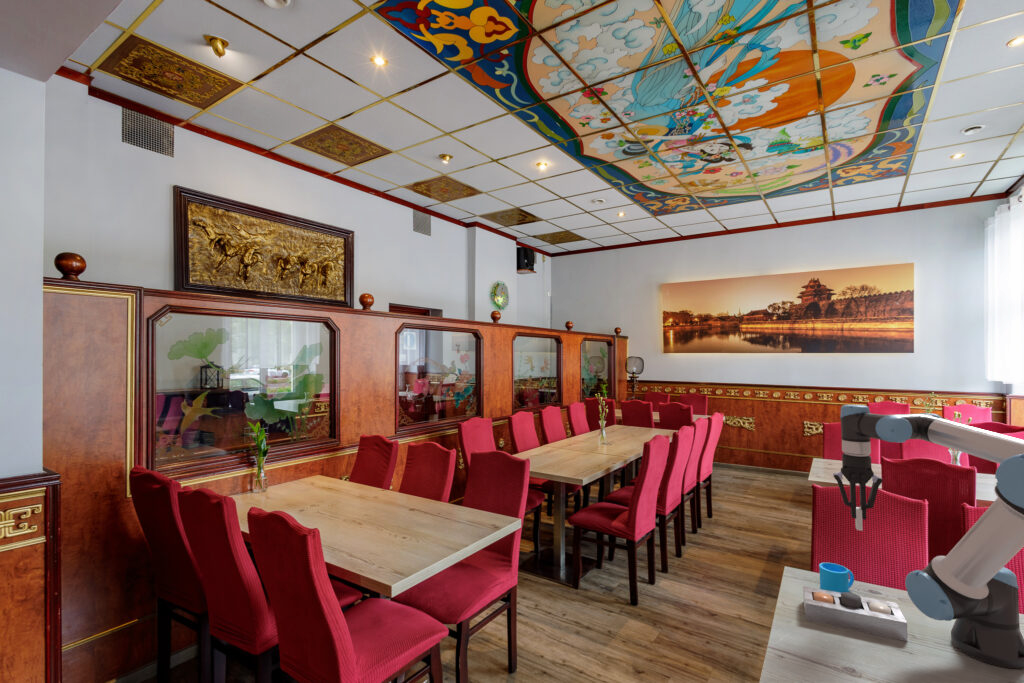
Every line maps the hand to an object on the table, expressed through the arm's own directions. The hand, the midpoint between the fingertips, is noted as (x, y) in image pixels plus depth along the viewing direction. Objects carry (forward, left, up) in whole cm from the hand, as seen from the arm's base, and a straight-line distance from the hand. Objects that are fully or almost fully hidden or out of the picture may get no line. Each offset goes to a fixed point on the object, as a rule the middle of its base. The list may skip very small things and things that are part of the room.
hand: (859, 528), depth 151 cm
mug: (+5, -9, -25) cm, 27 cm away
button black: (+4, +10, -21) cm, 24 cm away
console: (+4, +10, -24) cm, 27 cm away
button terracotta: (+11, +10, -23) cm, 27 cm away
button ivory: (-3, +10, -23) cm, 25 cm away
